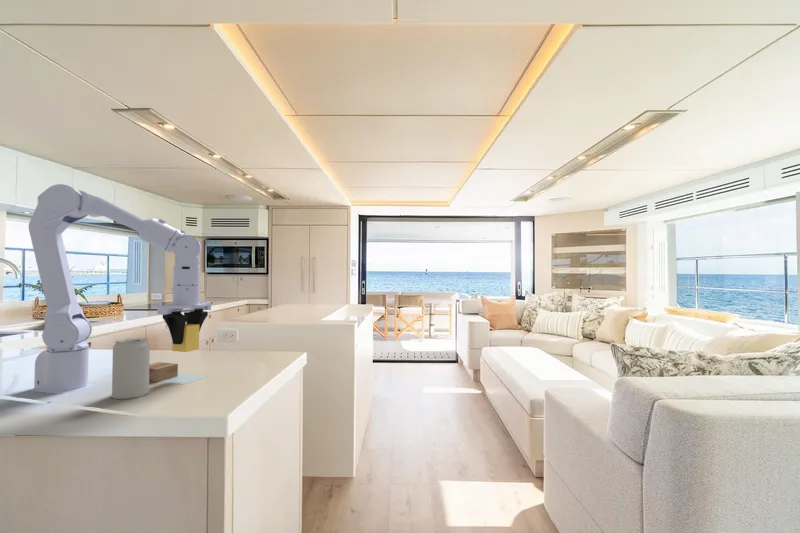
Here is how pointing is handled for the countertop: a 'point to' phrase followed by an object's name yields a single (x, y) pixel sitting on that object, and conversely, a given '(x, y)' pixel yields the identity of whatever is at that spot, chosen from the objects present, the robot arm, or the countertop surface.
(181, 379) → the plate
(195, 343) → the ochre brick
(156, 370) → the walnut base brick
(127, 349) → the beverage can
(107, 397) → the countertop surface
